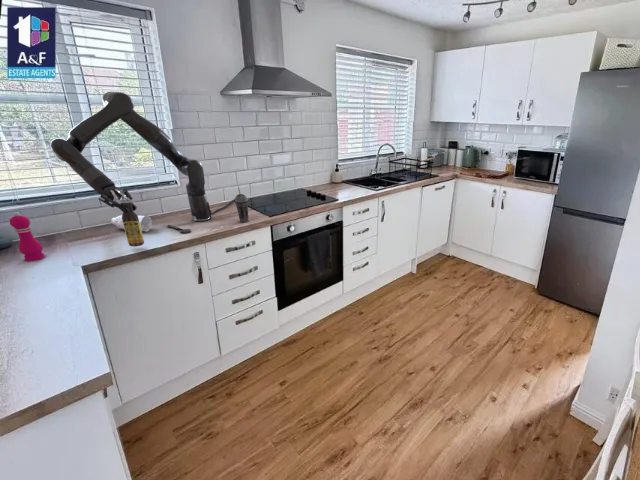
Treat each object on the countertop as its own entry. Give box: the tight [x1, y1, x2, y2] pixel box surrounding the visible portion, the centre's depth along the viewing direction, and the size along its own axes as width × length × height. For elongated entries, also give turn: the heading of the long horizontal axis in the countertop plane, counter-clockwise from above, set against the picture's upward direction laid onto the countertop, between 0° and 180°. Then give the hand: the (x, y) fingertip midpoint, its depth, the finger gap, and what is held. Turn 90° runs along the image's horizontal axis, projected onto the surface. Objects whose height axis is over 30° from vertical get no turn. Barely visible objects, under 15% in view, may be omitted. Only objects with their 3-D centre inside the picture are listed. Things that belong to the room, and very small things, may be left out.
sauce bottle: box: [120, 200, 145, 247], centre depth 164 cm, size 6×6×20 cm
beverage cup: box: [234, 186, 249, 223], centre depth 208 cm, size 7×7×20 cm
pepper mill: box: [9, 211, 46, 262], centre depth 151 cm, size 7×7×20 cm
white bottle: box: [110, 214, 153, 232], centre depth 191 cm, size 8×19×8 cm, turn 82°
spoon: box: [167, 224, 192, 235], centre depth 195 cm, size 5×18×1 cm, turn 60°
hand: (131, 210), depth 161 cm, fingers closed on sauce bottle, 4 cm apart
